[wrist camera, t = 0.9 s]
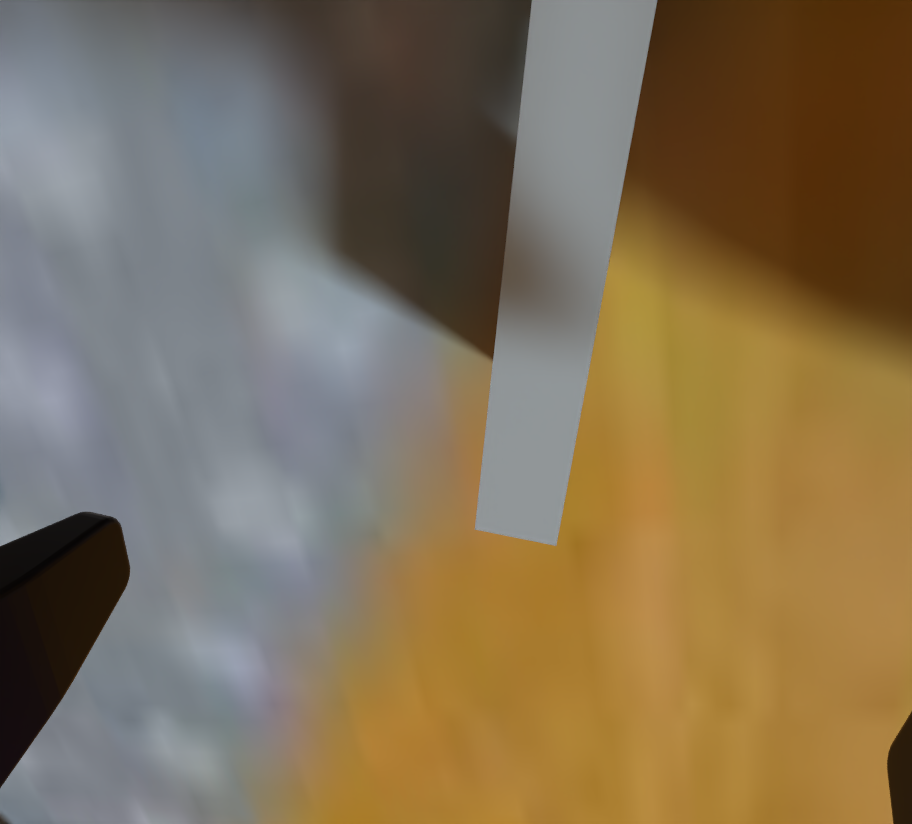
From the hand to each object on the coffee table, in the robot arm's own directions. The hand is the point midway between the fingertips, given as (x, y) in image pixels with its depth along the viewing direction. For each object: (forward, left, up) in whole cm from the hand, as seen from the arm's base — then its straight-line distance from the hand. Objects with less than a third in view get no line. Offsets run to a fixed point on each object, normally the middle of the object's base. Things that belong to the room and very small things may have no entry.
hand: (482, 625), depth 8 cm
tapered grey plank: (0, -3, -11) cm, 11 cm away
